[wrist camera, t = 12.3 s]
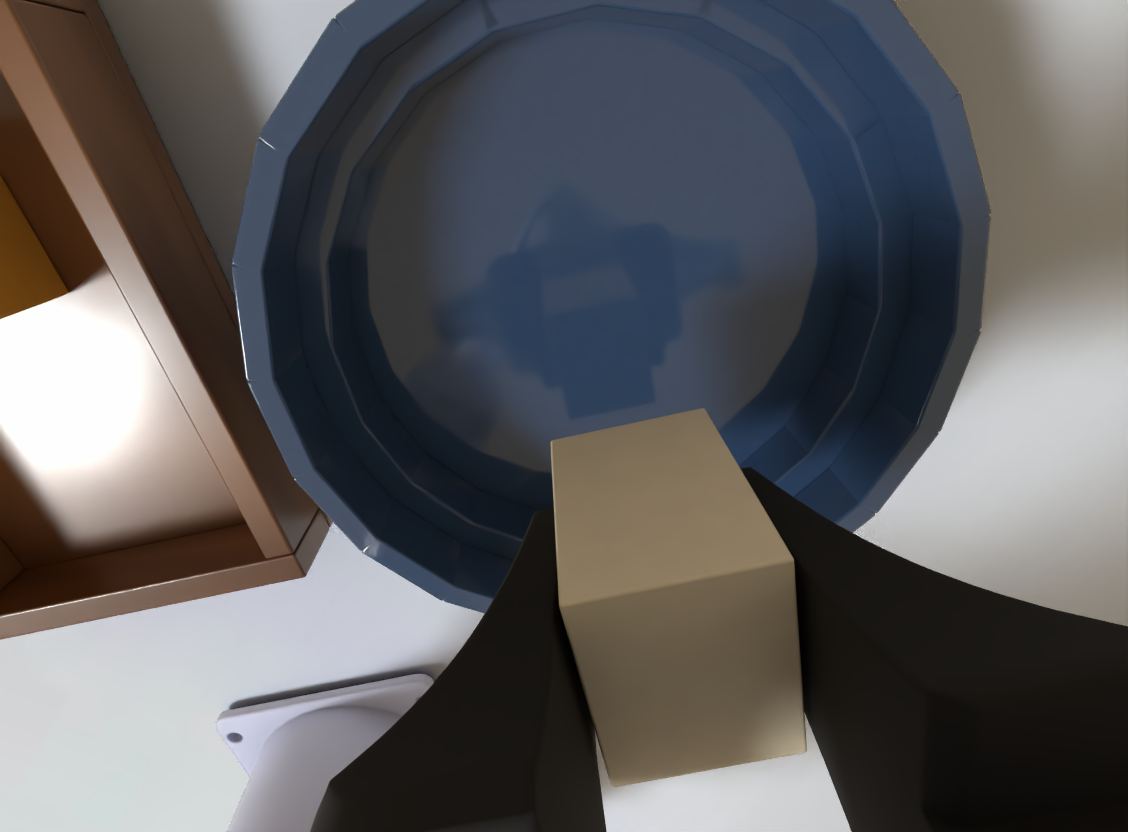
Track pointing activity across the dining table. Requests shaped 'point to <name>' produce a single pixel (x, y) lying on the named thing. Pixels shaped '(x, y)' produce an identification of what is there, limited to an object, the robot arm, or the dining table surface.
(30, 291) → the block
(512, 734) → the robot arm
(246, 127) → the dining table surface
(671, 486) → the packet cream
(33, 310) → the holder
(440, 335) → the bowl
